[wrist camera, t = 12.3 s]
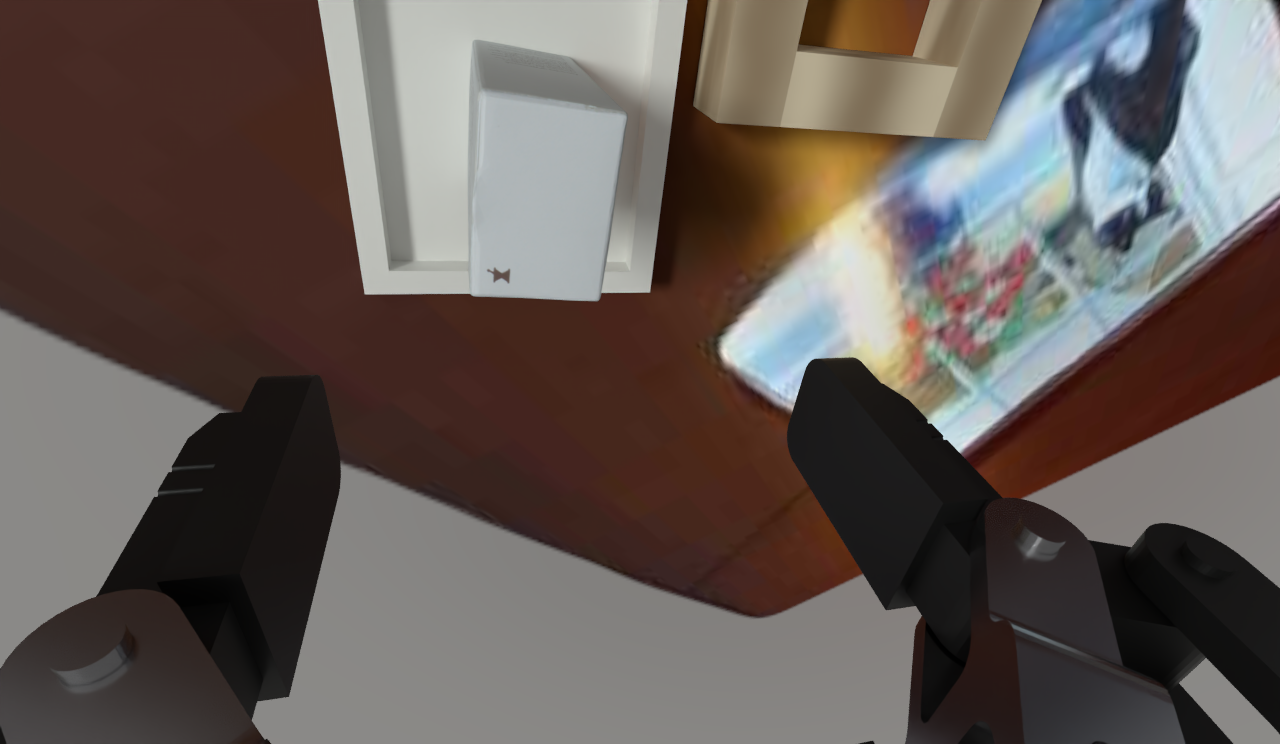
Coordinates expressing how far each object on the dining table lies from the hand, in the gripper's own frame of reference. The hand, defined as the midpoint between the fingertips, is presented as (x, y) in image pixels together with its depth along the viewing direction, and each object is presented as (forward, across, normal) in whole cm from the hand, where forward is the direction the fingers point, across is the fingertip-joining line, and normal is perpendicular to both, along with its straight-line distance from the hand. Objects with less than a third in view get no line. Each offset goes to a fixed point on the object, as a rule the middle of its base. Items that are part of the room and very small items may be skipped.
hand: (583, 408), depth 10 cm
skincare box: (+21, 0, 0) cm, 21 cm away
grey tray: (+22, 0, 0) cm, 22 cm away
